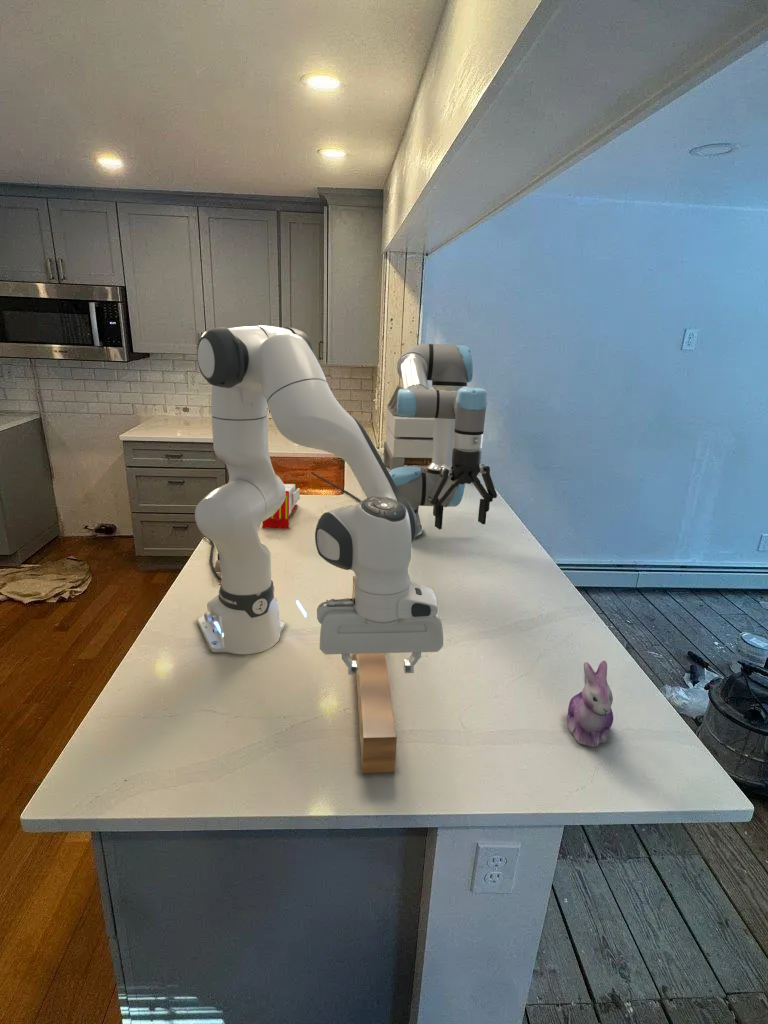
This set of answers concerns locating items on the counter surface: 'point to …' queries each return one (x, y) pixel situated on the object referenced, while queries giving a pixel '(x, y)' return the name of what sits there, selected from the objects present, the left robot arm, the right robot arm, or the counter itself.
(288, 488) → the toy
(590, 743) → the figurine
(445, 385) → the right robot arm
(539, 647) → the counter surface
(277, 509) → the left robot arm
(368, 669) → the bar
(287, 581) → the counter surface
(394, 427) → the slatted wooden crate
